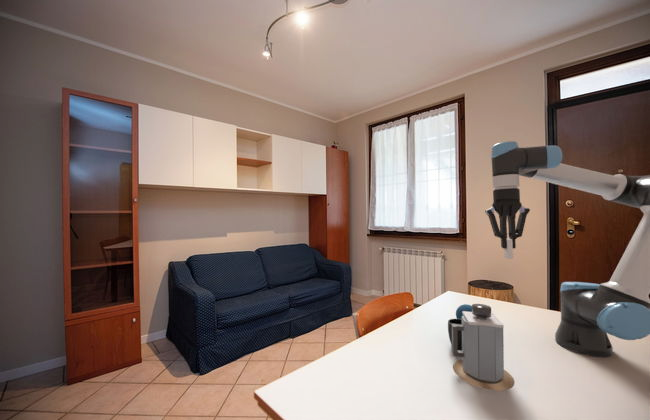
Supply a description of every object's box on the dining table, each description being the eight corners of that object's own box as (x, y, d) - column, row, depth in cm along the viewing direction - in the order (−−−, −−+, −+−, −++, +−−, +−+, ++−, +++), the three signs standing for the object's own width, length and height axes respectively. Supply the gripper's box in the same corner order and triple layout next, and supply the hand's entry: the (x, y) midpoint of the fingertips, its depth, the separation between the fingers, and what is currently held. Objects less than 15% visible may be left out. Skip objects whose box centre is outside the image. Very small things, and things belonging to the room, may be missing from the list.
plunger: (492, 342, 84) (491, 303, 84) (500, 354, 77) (500, 312, 77) (465, 339, 86) (464, 301, 87) (470, 351, 79) (470, 309, 79)
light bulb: (480, 333, 109) (480, 303, 109) (479, 342, 102) (478, 310, 102) (457, 329, 114) (457, 300, 114) (454, 336, 107) (454, 306, 107)
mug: (489, 353, 94) (488, 325, 94) (458, 356, 92) (458, 328, 92) (471, 342, 102) (471, 316, 102) (443, 345, 100) (443, 319, 100)
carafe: (495, 366, 85) (495, 313, 85) (507, 386, 75) (507, 326, 76) (449, 360, 89) (449, 309, 89) (455, 378, 79) (455, 321, 79)
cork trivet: (502, 364, 87) (502, 362, 87) (524, 397, 72) (524, 395, 72) (448, 357, 92) (448, 355, 92) (458, 386, 76) (458, 384, 76)
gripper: (522, 188, 94) (525, 256, 94) (481, 190, 97) (483, 256, 97) (533, 186, 87) (537, 260, 87) (488, 188, 90) (491, 260, 90)
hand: (508, 258), depth 92 cm, fingers closed
